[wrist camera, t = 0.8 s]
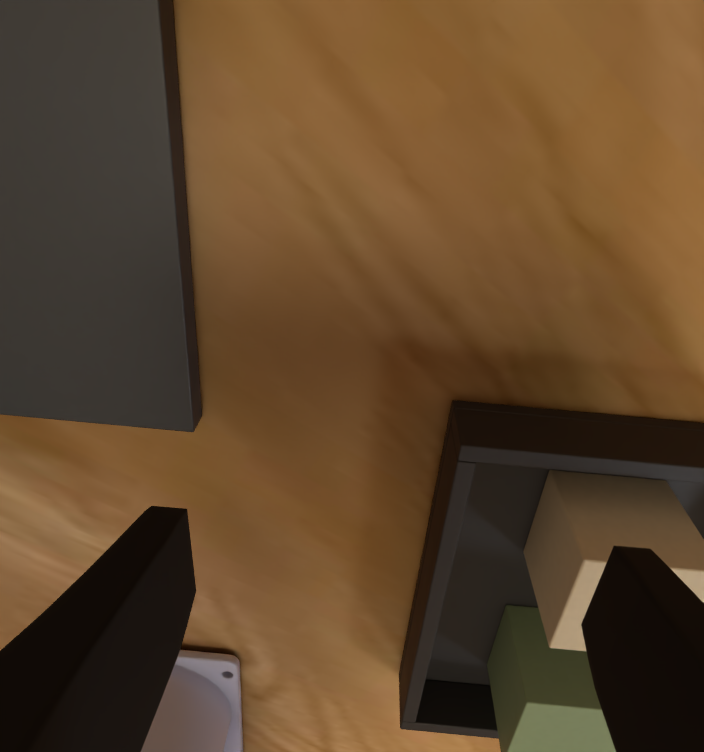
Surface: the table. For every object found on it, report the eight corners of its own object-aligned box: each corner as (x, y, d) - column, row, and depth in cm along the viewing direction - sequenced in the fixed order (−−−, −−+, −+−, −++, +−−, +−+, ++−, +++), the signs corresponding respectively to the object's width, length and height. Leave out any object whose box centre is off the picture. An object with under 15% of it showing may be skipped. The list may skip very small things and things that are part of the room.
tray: (639, 697, 26) (662, 755, 24) (398, 673, 26) (399, 729, 24) (792, 430, 19) (845, 480, 16) (452, 399, 19) (460, 445, 17)
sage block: (577, 672, 25) (608, 773, 21) (486, 663, 25) (502, 763, 21) (604, 613, 23) (643, 714, 19) (505, 604, 23) (526, 703, 19)
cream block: (628, 561, 21) (675, 660, 18) (522, 551, 21) (548, 648, 18) (666, 479, 19) (727, 574, 16) (548, 468, 19) (584, 560, 16)
